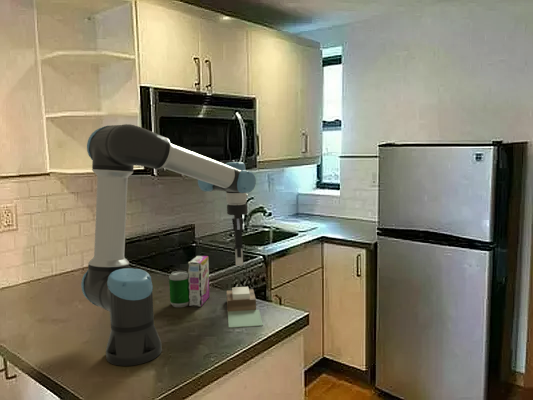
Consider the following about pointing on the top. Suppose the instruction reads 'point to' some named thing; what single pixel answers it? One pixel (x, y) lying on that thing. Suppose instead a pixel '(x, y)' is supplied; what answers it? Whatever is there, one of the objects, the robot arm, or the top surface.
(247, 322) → the sage mat
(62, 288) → the top surface
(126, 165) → the robot arm
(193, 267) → the candy bar box
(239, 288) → the ivory tile
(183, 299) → the soda can
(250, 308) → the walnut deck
